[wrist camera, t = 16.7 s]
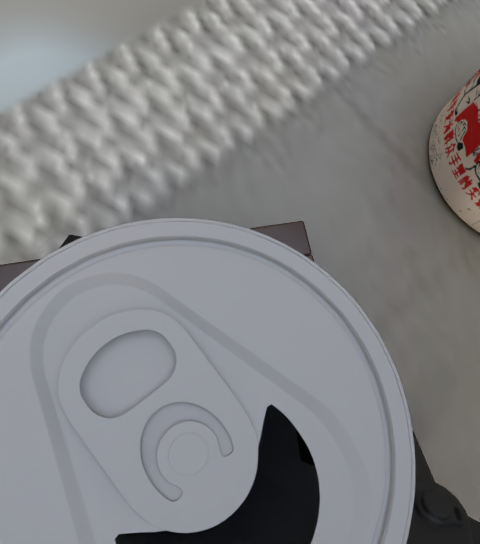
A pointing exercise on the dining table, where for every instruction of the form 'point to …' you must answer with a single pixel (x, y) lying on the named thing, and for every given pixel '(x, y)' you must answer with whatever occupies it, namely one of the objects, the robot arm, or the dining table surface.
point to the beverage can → (196, 396)
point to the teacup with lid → (459, 152)
